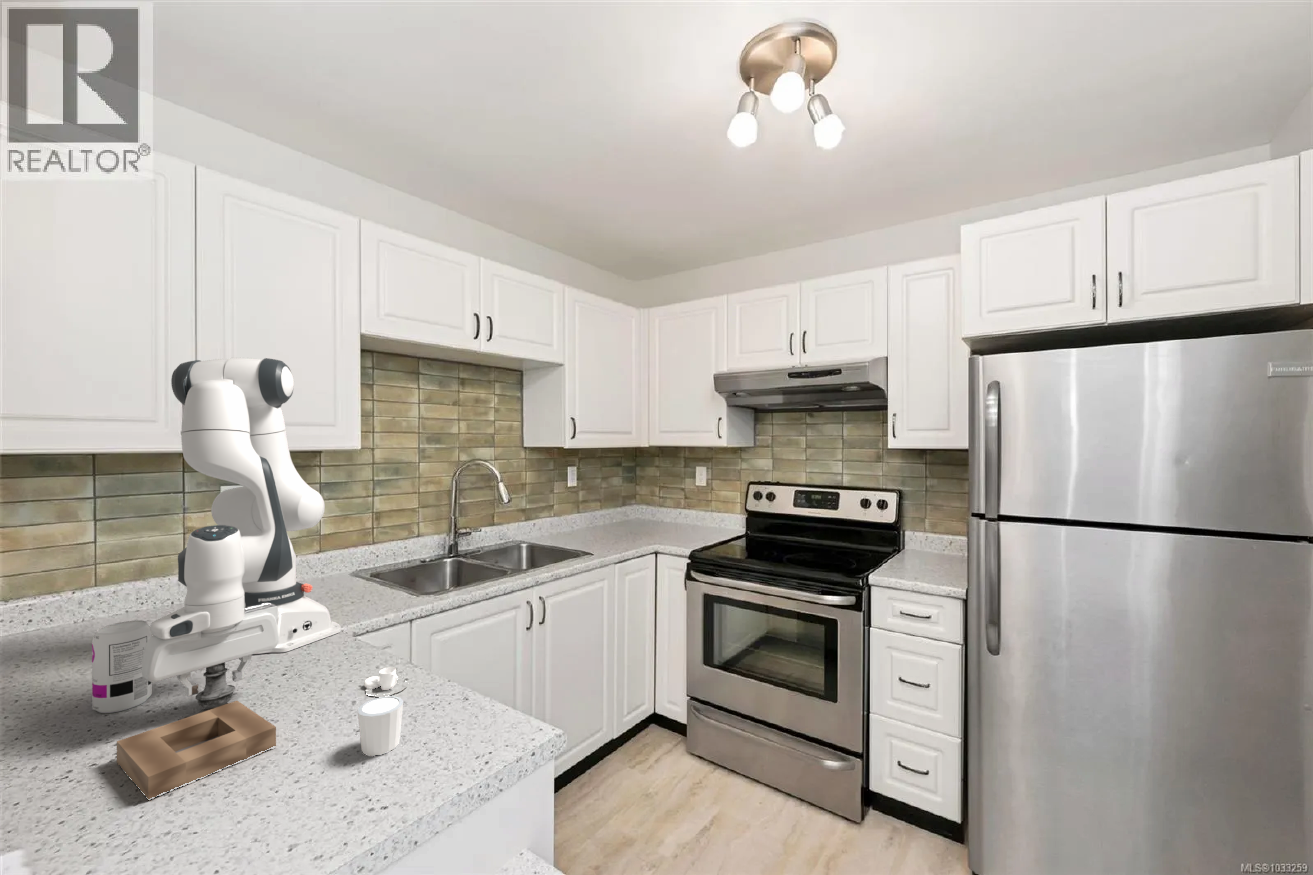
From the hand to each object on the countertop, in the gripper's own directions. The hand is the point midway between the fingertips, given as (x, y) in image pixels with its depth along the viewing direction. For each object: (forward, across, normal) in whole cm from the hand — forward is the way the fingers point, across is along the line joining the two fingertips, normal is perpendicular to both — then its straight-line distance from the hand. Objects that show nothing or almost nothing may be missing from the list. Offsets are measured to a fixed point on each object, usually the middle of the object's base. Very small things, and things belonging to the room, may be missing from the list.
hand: (215, 687), depth 103 cm
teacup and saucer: (+5, -25, +16) cm, 30 cm away
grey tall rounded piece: (+5, 0, 0) cm, 5 cm away
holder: (+4, +7, +15) cm, 17 cm away
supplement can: (+5, +9, -18) cm, 21 cm away
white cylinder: (+5, -11, +37) cm, 39 cm away
